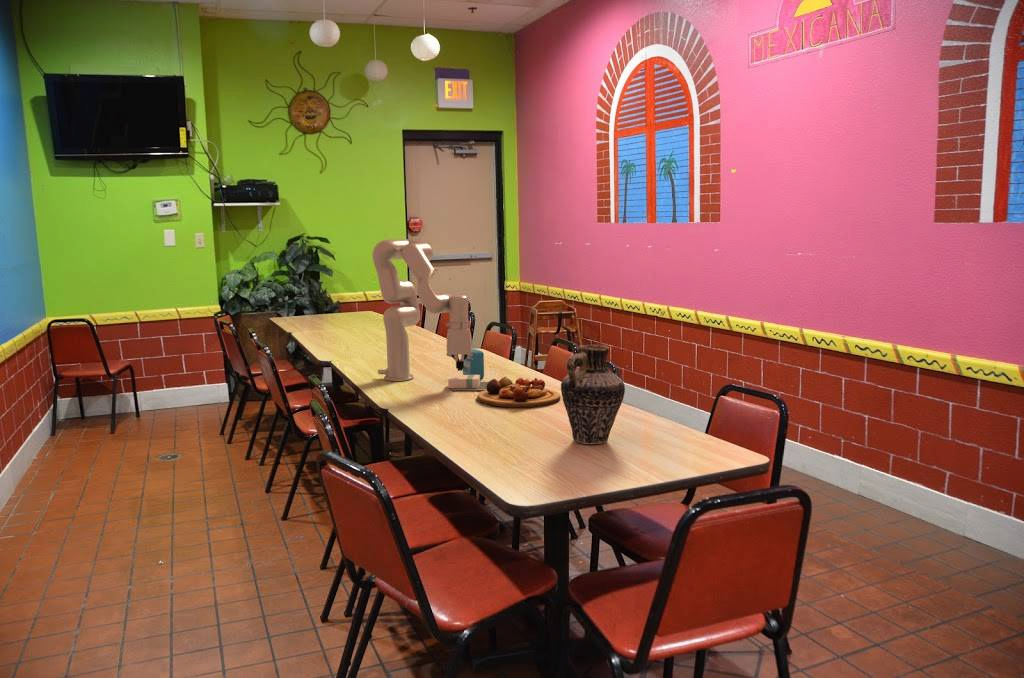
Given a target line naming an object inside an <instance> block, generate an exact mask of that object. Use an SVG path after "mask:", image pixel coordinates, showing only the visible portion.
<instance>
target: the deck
mask: <svg viewBox="0 0 1024 678" xmlns="http://www.w3.org/2000/svg"><path fill="white" fill-rule="evenodd" d="M447 380H448V385H447V386H448V387H447V388H448V389H453V388H478V387H479V385H480V382H481V379H480V375H463V374H451V375H450V376H449V378H448V379H447Z"/></svg>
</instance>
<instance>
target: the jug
mask: <svg viewBox="0 0 1024 678" xmlns="http://www.w3.org/2000/svg"><path fill="white" fill-rule="evenodd" d="M578 348H579V351H580V352H579V353H578V354H577V353H574V354H572V355H570V356H569V357H568V359H567V362H566V369H567V370H566V371H567V375H566V376H565V377H564V378H563V379H562V381H561V383H560V391H561V397H562V398H561V399H562V402H563V405H564V408H565V410H566V413H567V417H568V422H569V424H570V428H571V432H572V433H571V436H572V439H573V441H574V442H576V443H579V444H583V445H590V446H591V445H602V444H604V443H607V442H608V439H609V437H610V434H611V431H612V427H613V425H614V423H615V420H616V418H617V415H618V412H619V410H620V408H621V405H622V404H623V401H624V396H625V392H626V388H625V383H624V381H623V379H622V378H621V377H619V375H617V374H615V373H613V372H612V371H611V370H609V369H608V367H607V357H608V355H609V350H610V347H609V346H608V345H604V344H582V345H578ZM576 360H579V361H580V365H579V368H578V369H576V370H575V363H576Z"/></svg>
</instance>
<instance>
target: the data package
mask: <svg viewBox="0 0 1024 678" xmlns="http://www.w3.org/2000/svg"><path fill="white" fill-rule="evenodd" d="M472 353H473V355H472V356H470V357H467V358H466V359H465V360H464V369H462V375H480V380H481V378H482V379H483V378H484V377H485V358H484V357H485V354H484V351H483V350H480V349H477V348H473V347H472Z"/></svg>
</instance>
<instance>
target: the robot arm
mask: <svg viewBox="0 0 1024 678" xmlns="http://www.w3.org/2000/svg"><path fill="white" fill-rule="evenodd" d="M433 257H434V252H433V249H432V247H431V246H430V245H429V243H426V242H422V241H417V240H413V239H409V238H398V239H397V238H396V239H395V238H394V239H393V238H392V239H391V238H390V239H383V240H381V241H379V242H377V243H376V245H375V246H374V248H373V250H372V262H373V265H374V267H375V272H376V274H377V278H378V282H379V288H380V293H381V296H382V300H383V301H384V302H385V303H387V304H397V303H399V304H400V305H395V306H390V307H388V308H387V309H386V310H385V311H384V313H383V316H382V317H383V318H382V320H383V325H384V329H385V339H386V361H387V368H385V369H377V373H378V375H385V376H384V377H383V379H384V380H385V381H387V382H406V381H411V380H413V379H414V374H411V372H410V371H411V369H410V365H411V363H410V342H409V341H410V340H409V339H410V338H409V334H408V332H407V330H406V327H407V328H408V327H412V326H416V325H417V324H418V323H419V321H420V319H421V310H420V305H419V301H420V302H421V303H422V305H423V306H424V308H425V309H426V311H428V312H429V313H431V314H432V315H438V314H443V313H444V314H445V313H449V322H446V323H445V326H446V327H449V328H448V329H447V333H446V356H447V357H450V358H452V359H453V360H454V361H455V368H456V369H457V371H458V372H459V371H460V372H463V369H464V360H465V359H466V358H467V357H470V356H472V355H473V353H472V348H473V342H472V340H473V339H472V338H473V337H472V332H471V329H470V328H469V302H468V301H469V300H468V297H467V296H466V295H463V294H462V295H461V294H459V295H457V294H453V293H443V294H442V293H441V294H435V292H434V291H433V289H432V287H431V284H430V280H432V278H433V277H434V276H435V274H436V269H435V268H434V267H433V265H432V264H431V260H432V259H433ZM400 259H401V260H403V261H404V263H405V264H406V265H407V267H408V268H409V269H410V271H411V273H412V275H413V276H414V278H415V280H416V282H417V284H416V285H417V286H416V287H417V288H415V286H414V285H413V283H412V282H411V281H409V280H406V279H401V280H400V279H399V274H398V270H397V268H396V265H394V263H393V262H392V260H400ZM416 289H417V291H416ZM418 298H419V300H418ZM459 355H460V358H459Z"/></svg>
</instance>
